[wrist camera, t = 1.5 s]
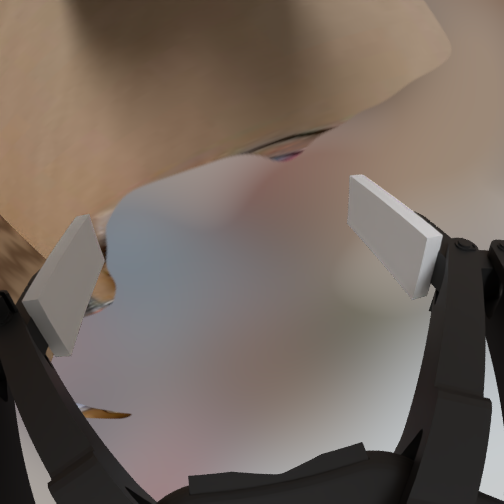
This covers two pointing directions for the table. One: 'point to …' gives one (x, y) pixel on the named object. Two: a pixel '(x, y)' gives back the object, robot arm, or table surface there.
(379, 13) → the table surface
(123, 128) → the table surface
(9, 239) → the board
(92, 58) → the table surface
